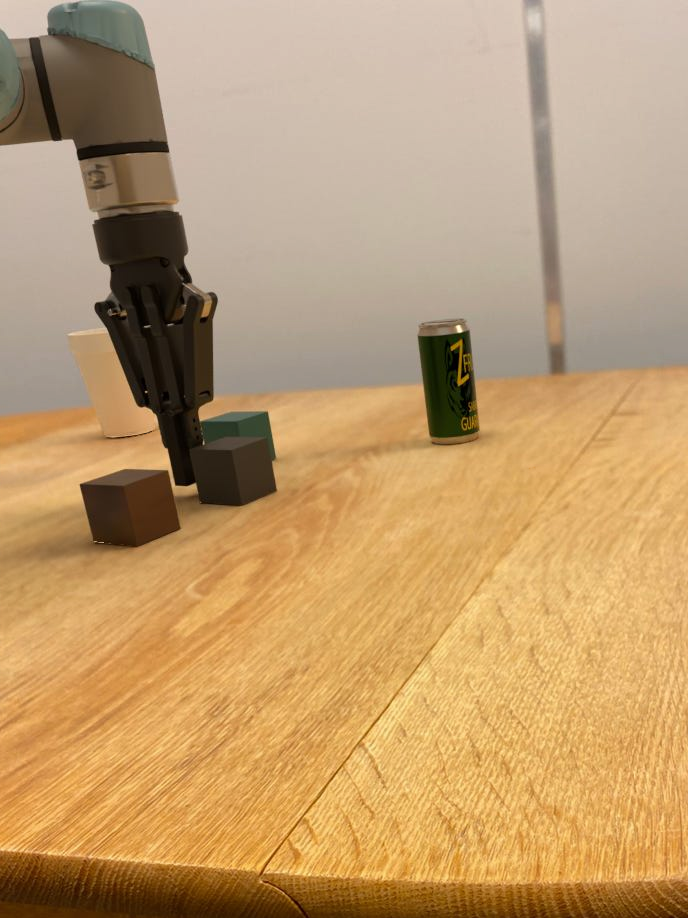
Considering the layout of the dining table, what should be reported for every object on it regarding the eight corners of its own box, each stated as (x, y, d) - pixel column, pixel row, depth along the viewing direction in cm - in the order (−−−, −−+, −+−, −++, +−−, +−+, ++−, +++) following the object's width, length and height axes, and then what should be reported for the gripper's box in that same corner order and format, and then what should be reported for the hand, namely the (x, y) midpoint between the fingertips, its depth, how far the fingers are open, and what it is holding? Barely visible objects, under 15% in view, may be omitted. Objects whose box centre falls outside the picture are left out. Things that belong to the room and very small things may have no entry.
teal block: (209, 469, 111) (199, 421, 109) (240, 457, 115) (231, 411, 113) (245, 470, 108) (236, 421, 107) (276, 458, 112) (268, 411, 111)
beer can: (421, 445, 111) (407, 327, 106) (441, 434, 115) (428, 320, 111) (469, 444, 109) (456, 323, 104) (487, 433, 113) (476, 316, 109)
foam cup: (135, 440, 132) (111, 332, 127) (77, 442, 135) (51, 337, 130) (181, 424, 140) (160, 322, 135) (124, 426, 143) (102, 326, 138)
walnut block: (93, 543, 87) (79, 483, 86) (138, 525, 91) (124, 468, 90) (137, 546, 85) (123, 485, 83) (180, 528, 89) (168, 469, 87)
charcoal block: (199, 503, 97) (188, 449, 95) (235, 489, 101) (225, 436, 99) (242, 505, 94) (231, 450, 93) (277, 490, 98) (267, 437, 97)
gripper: (49, 221, 91) (112, 490, 100) (159, 207, 85) (216, 495, 93) (115, 216, 97) (169, 470, 106) (222, 203, 91) (270, 474, 99)
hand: (191, 482), depth 100 cm, fingers closed
